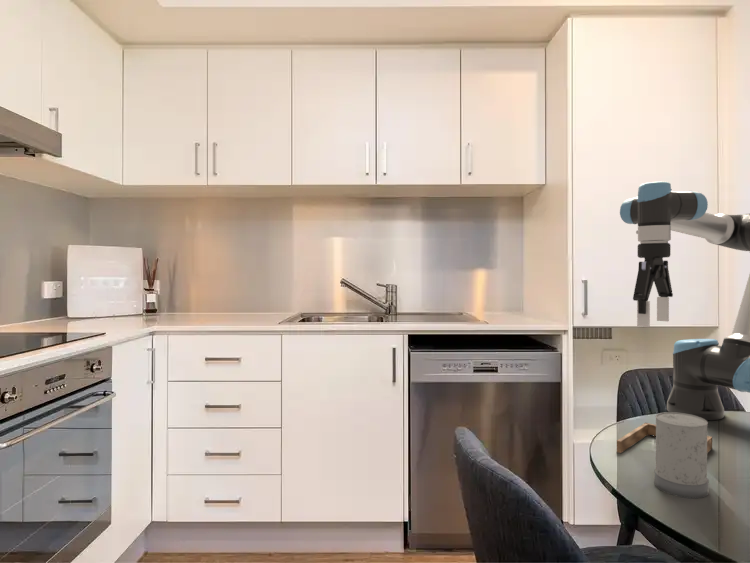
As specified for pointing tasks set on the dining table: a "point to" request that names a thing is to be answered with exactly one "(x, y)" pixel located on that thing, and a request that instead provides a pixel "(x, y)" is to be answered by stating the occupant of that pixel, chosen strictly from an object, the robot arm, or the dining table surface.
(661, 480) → the pedestal
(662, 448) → the grey marbled pot
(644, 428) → the frame
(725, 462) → the dining table surface
